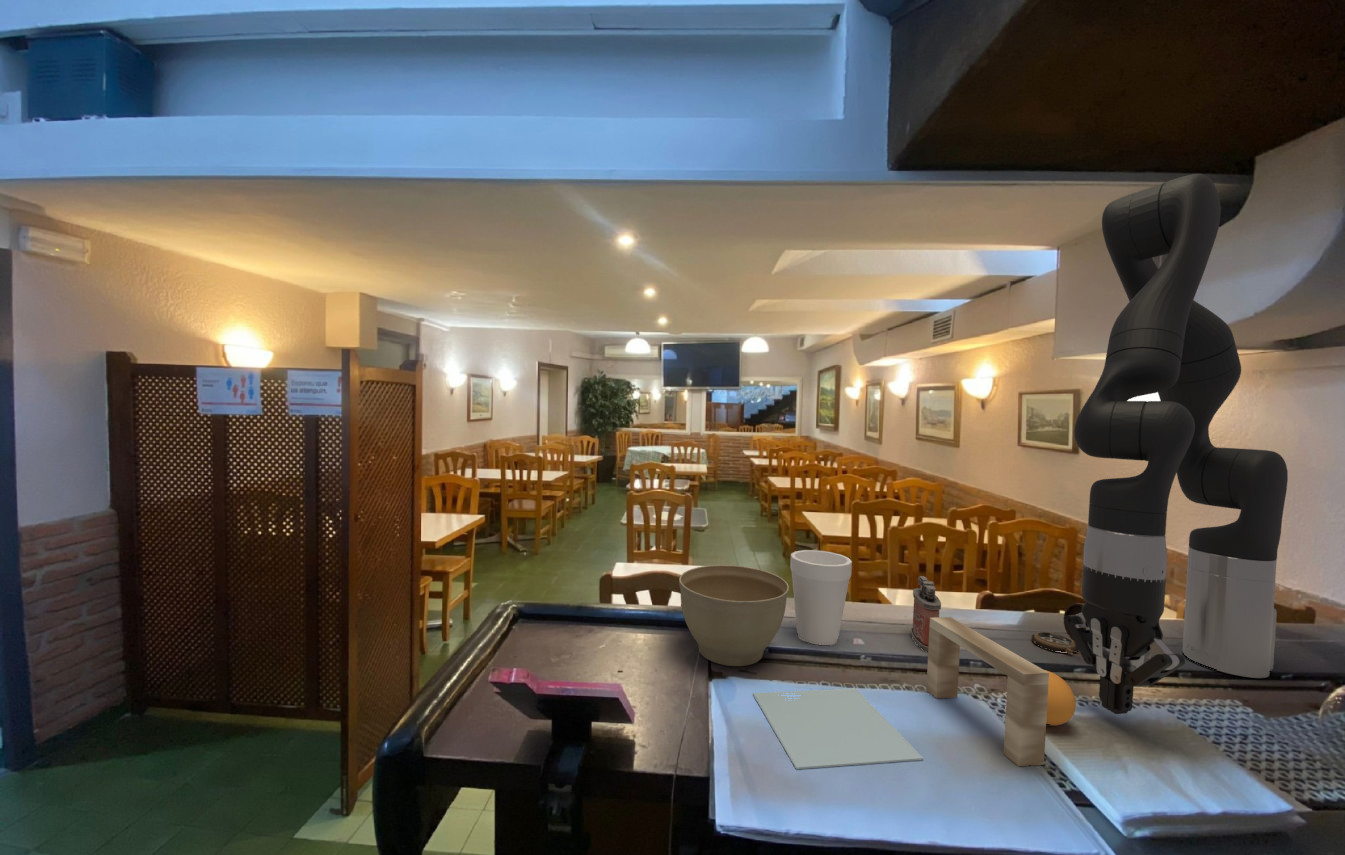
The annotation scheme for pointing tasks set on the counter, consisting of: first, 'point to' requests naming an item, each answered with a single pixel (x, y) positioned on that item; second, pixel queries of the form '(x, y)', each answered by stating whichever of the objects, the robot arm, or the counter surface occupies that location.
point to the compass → (1056, 640)
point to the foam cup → (819, 593)
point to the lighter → (924, 611)
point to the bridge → (1022, 685)
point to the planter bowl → (732, 611)
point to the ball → (1059, 701)
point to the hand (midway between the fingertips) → (1114, 710)
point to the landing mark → (833, 729)
